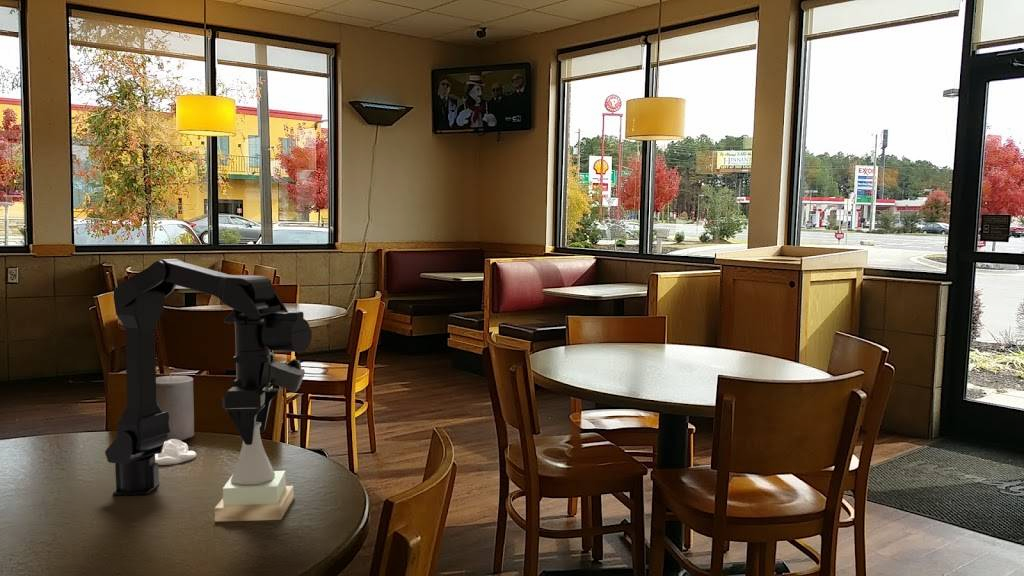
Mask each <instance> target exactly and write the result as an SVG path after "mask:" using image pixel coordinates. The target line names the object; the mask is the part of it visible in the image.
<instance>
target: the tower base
mask: <svg viewBox="0 0 1024 576" xmlns="http://www.w3.org/2000/svg"><path fill="white" fill-rule="evenodd" d="M294 487H295V486H294V485H286V488H285V490H284V492H283V494H282V496H281V498H280V500H279V502H278V504H256V505H230V506H223V497H222V499H221V500H220V501H219V502H218V503H217V504H216V505H215V507H214V522H239V521H240V522H245V521H249V522H250V521H252V522H253V521H282V519H283V518H284V516H285V514H286V513H287V510H288V509H289V508H290V505H291V503H292V502H293V500H294V498H295V496H294V495H295V492H294V490H295V489H294Z"/></svg>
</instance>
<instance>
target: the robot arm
mask: <svg viewBox="0 0 1024 576" xmlns="http://www.w3.org/2000/svg"><path fill="white" fill-rule="evenodd" d="M176 287H181V288H185V289H188V290H189V289H190V290H192V291H195V292H200V293H203V294H205V295H206V294H207V295H210V296H213V297H215V298H217V299H219V301H220V302H221V303H222V304H223V305H225V306H227V307H228V308H231V309H232V311H231V312H230V313H229V314H228V315H227V316H225V318H223V319H224V320H223V322H224V323H226V324H234V335H235V336H234V338H235V340H234V341H235V355H234V356H232V364H235V371H236V376H235V377H236V379H234V380H233V386H232V387H231V388H229V389H228V390H227V391H226V392H225V393H223V395H222V396H221V404H222V405H221V406H222V408H223V409H225V412H226V413H227V414H228V415H229V417H230V419H231V420H232V423H233V424H234V425H235V428H236V429H237V432H238V433H239V435H240V437H241V439H242V442H243V441H244V443H245V444H246V445H251V444H252V443H253V438H254V431H255V423H256V422H261V426H260V432H264V431H265V429H266V426H267V421H268V415H269V412H270V408H271V403H272V400H273V399H274V398H275V396H277V394H278V393H280V391H281V389H282V388H283V389H286V390H287V391H289V392H293V393H295V392H298V390H299V389H300V387H301V385H302V383H303V379H304V377H305V374H306V371H305V369H303V368H302V364H301V363H302V362H301V361H300V360H298V359H295V358H292V359H291V360H290V361H288V363H286V362H280V361H276V359H275V357H276V356H275V354H274V352H271V351H276V352H290V353H292V352H294V353H303V352H305V351H306V350H307V349H308V348H309V346H310V345H311V341H312V334H313V332H312V329H311V327H310V324H309V322H308V321H307V320H306V319H305V318H304V311H293V312H291V311H290V312H289V311H288V309H287V308H286V305H285V304H284V302H283V301H282V300H281V298H280V296H279V295H278V293H277V292H276V290H275V288H274V285H273V283H272V280H271V279H270V278H269V277H267V276H265V275H264V276H263V275H250V274H228V273H225V272H222V271H221V272H220V271H217V270H213V269H211V268H207V267H202V266H198V265H197V264H192V263H188V262H184V261H182V260H181V259H178V258H167V259H163V258H162V259H158V260H156V261H154V262H153V263H152V264H151V265H149V266H148V267H147V268H145V269H144V270H141V271H139V272H138V273H136V274H134V275H132V276H130V277H128V278H127V280H123V281H120V282H119V283H118V284H117V286H116V287H114V290H113V293H112V294H113V304H114V309H115V310H114V311H115V314H116V316H117V318H118V320H119V321H120V322H121V324H122V325H123V327H124V328H125V329H124V330H125V358H126V359H125V362H126V363H125V364H126V365H125V366H126V373H125V374H126V407H125V408H124V411H123V413H122V415H121V416H120V418H119V419H118V425H117V434H116V438H115V439H114V440H113V441H112V442H111V443H110V445H108V447H107V448H106V450H105V452H104V453H105V456H106V460H107V463H110V464H114V466H115V468H114V470H115V472H114V473H115V489H114V490H113V491H112V492H111V494H112V495H113V496H121V495H122V496H123V495H130V496H131V495H148V494H150V493H151V492H152V491H153V490H154V489H155V488H156V487H158V486H159V485H160V475H159V465H158V463H155V454H159V453H161V452H162V449H163V445H164V442H165V441H166V440H167V435H168V433H170V429H169V413H168V412H162V410H161V409H160V407H159V406H158V404H157V402H156V378H157V373H156V372H157V371H156V369H157V367H156V364H157V363H156V326H157V324H158V322H159V320H160V318H161V316H162V314H163V313H164V309H165V299H166V298H167V297H168V296H169V295H170V294H172V293H173V292H174V291H175V289H176ZM273 387H275V388H273Z"/></svg>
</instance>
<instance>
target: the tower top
mask: <svg viewBox="0 0 1024 576" xmlns="http://www.w3.org/2000/svg"><path fill="white" fill-rule="evenodd" d="M273 471H274V473H275V475H274V477H273V478H272V480H269V481H266V482H264V483H261V484H249V485H241V484H237V483H233V482H231V479H232V476H233V474H232V475H231V476H230V478H229V479H228V481H227V482H226V483H225V484H224V486H223V488H222V498H223V506H230V505H256V504H278V502H279V500H280V498H281V496H282V494H283V492H284V490H285V488H286V486H287V477H286V476H287V475H286V473H287V471H286V470H273Z"/></svg>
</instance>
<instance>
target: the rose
mask: <svg viewBox="0 0 1024 576" xmlns="http://www.w3.org/2000/svg"><path fill="white" fill-rule="evenodd" d="M196 457H197V453H196V452H195V451H194V450H189V446H188V444H187V443H186V442H183V440H176V439H170V440H168V441H165V442H164V445H163V449H162V452H161V453H159V454H155V463H158V466H159V465H161V466H162V465H163V466H166V465H167V466H169V465H177V464H180V463H184V462H187V461H191V460H194V459H195V458H196Z"/></svg>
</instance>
